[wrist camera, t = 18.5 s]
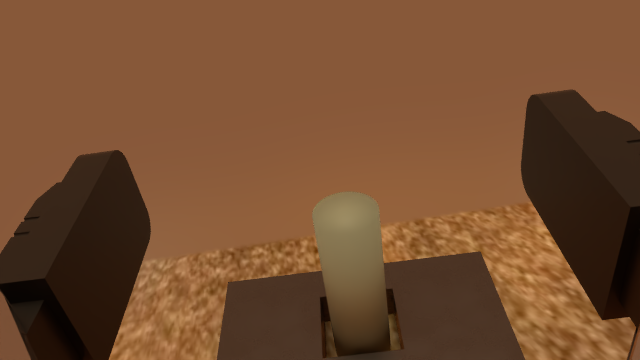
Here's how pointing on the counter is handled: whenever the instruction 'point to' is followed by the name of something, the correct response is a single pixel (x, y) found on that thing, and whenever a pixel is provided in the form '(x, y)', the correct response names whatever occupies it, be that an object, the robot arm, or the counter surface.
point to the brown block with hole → (402, 299)
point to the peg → (353, 272)
